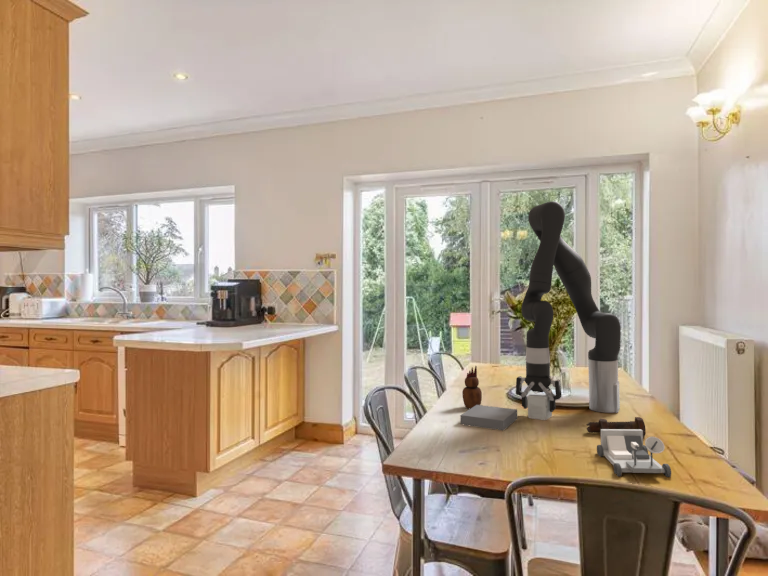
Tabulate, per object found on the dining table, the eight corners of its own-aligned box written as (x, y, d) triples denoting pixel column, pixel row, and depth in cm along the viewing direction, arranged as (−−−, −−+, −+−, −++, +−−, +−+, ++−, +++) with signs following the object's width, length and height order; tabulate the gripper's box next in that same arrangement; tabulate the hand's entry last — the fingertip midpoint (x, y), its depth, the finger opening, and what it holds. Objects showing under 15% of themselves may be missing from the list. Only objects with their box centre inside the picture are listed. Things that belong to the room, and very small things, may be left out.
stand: (517, 418, 160) (517, 409, 160) (503, 430, 148) (503, 420, 148) (476, 413, 167) (476, 404, 167) (460, 424, 155) (460, 415, 155)
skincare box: (546, 420, 156) (545, 397, 156) (527, 418, 160) (526, 395, 160) (552, 416, 161) (551, 394, 161) (534, 413, 165) (533, 391, 165)
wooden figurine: (481, 405, 177) (480, 364, 177) (482, 410, 171) (481, 367, 171) (462, 405, 177) (461, 364, 177) (463, 410, 172) (462, 367, 171)
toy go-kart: (676, 440, 108) (621, 440, 109) (677, 484, 108) (622, 483, 109) (642, 417, 126) (595, 417, 127) (643, 455, 126) (596, 454, 127)
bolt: (587, 439, 143) (642, 439, 140) (590, 435, 139) (647, 435, 136) (584, 419, 146) (638, 419, 143) (586, 415, 142) (642, 414, 139)
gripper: (562, 360, 160) (563, 409, 160) (519, 357, 167) (520, 404, 168) (557, 364, 153) (558, 415, 154) (512, 360, 161) (513, 409, 161)
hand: (538, 409), depth 161 cm, fingers open, 8 cm apart
